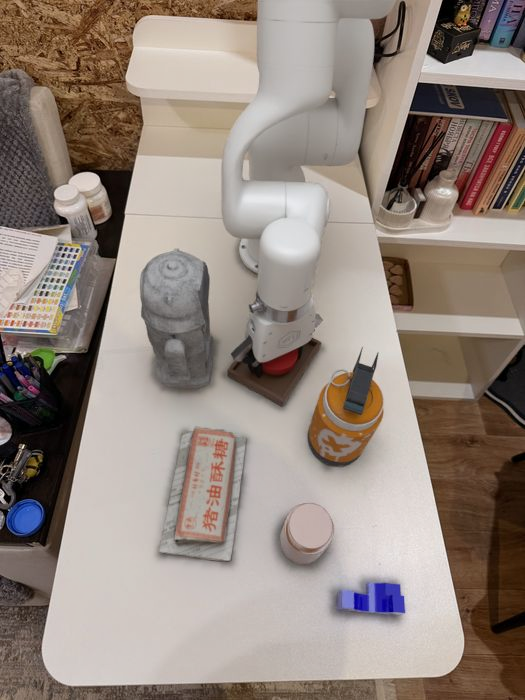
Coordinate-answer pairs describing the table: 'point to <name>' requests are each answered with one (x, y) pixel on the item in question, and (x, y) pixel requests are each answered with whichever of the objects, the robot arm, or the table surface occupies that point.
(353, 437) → the canister
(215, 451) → the packaged product
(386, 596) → the cable holder
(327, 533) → the jar
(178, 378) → the figurine
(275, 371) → the lid
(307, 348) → the tray
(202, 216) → the table surface
